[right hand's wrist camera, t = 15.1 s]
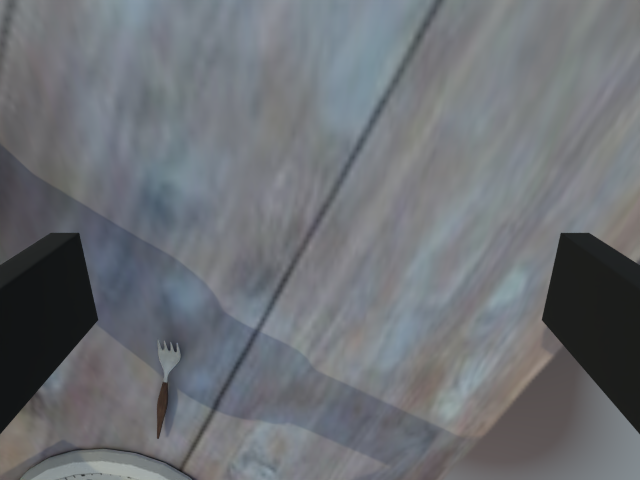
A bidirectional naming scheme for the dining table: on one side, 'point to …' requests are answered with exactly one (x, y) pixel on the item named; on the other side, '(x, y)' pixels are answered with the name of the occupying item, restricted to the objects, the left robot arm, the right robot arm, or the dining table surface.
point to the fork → (165, 379)
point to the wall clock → (102, 467)
